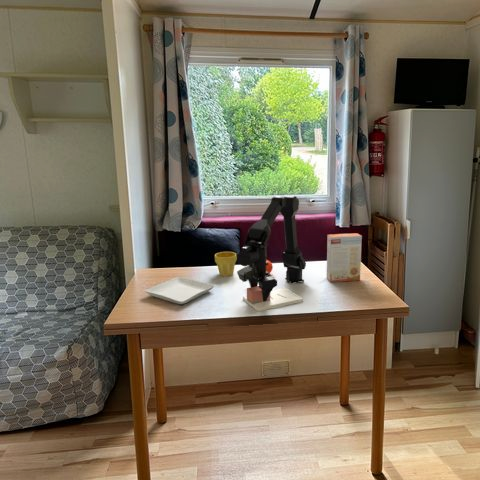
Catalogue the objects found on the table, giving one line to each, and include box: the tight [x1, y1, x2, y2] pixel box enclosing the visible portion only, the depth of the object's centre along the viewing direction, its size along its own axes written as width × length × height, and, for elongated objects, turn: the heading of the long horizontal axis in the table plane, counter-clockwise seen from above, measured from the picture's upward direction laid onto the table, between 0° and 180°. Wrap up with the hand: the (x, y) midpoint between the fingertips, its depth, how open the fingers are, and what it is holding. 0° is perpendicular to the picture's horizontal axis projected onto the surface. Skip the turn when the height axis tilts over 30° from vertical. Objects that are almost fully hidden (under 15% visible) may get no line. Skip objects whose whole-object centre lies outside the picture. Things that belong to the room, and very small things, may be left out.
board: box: [242, 287, 304, 312], centre depth 159 cm, size 20×13×1 cm, turn 115°
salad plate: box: [144, 276, 215, 305], centre depth 167 cm, size 21×21×3 cm
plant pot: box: [214, 251, 238, 277], centre depth 191 cm, size 10×10×10 cm
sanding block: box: [246, 285, 270, 304], centre depth 156 cm, size 8×4×5 cm, turn 115°
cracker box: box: [326, 232, 363, 283], centre depth 178 cm, size 14×6×21 cm, turn 94°
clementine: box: [266, 259, 274, 275], centre depth 189 cm, size 8×7×7 cm
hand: (259, 297), depth 156 cm, fingers open, 9 cm apart
